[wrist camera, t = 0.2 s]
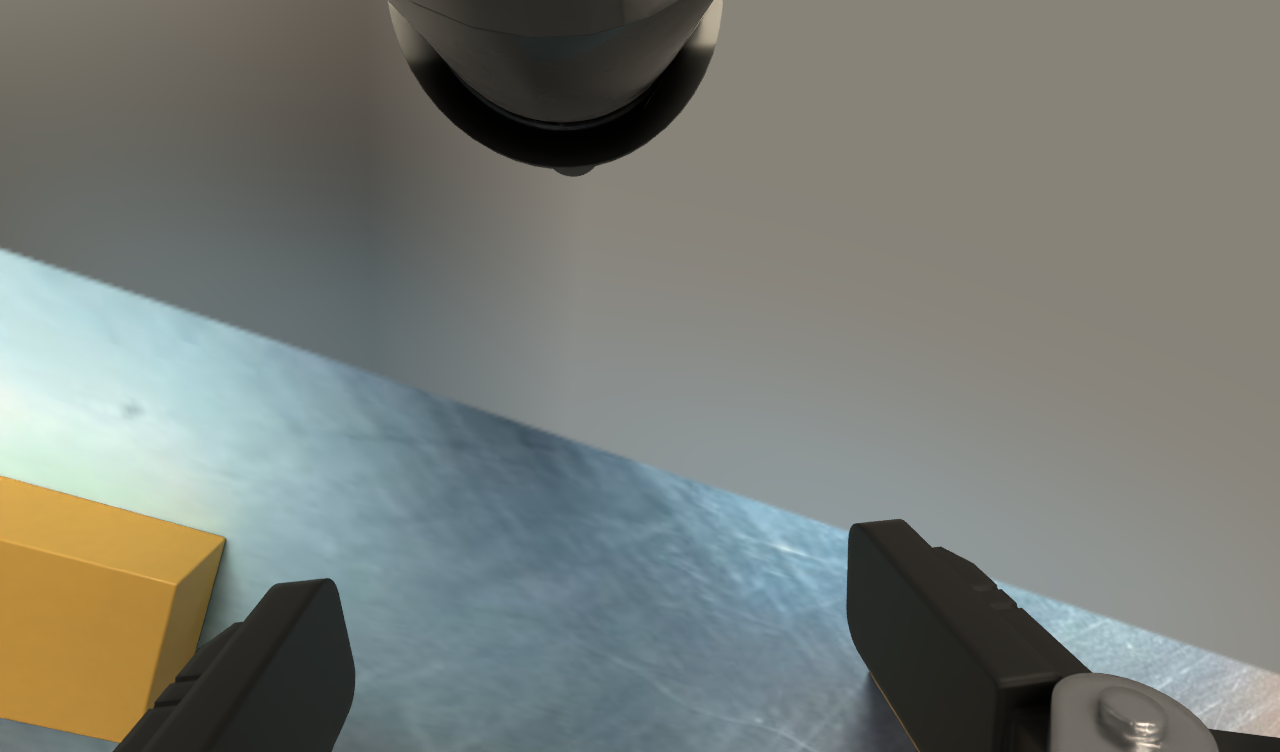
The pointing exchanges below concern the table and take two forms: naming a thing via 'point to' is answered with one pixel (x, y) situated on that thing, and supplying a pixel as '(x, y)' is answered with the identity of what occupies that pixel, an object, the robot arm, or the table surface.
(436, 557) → the table surface
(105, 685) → the yellow block
